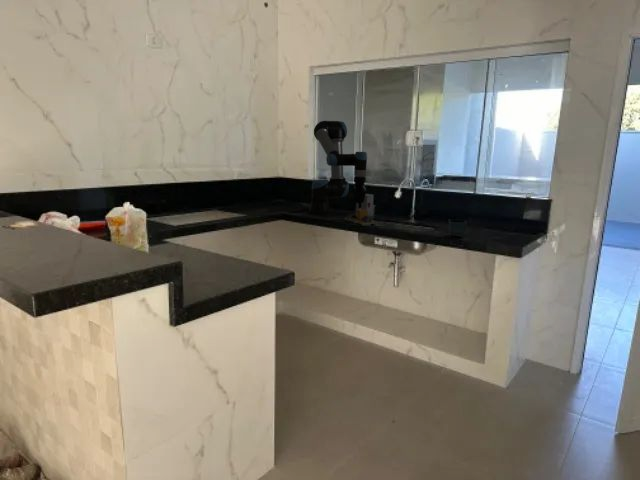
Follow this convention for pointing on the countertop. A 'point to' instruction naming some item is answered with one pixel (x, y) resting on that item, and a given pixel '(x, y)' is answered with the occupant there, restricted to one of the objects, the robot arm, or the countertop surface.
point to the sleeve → (361, 214)
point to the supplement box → (368, 204)
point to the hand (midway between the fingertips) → (358, 212)
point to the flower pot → (457, 227)
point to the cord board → (365, 221)
